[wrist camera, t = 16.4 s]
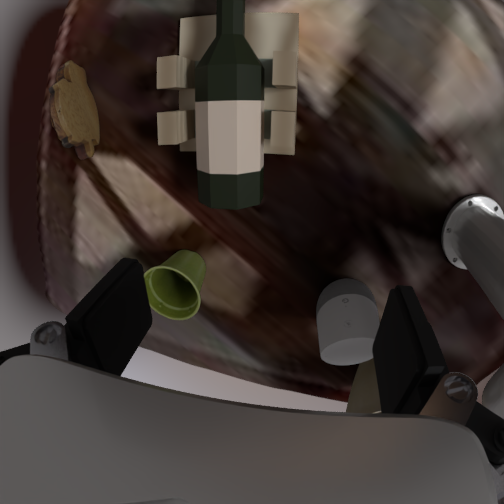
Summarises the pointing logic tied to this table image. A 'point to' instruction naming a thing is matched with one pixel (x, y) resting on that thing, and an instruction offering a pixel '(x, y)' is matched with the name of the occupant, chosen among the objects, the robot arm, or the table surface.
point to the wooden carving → (74, 110)
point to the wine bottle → (230, 115)
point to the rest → (275, 86)
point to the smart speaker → (346, 322)
